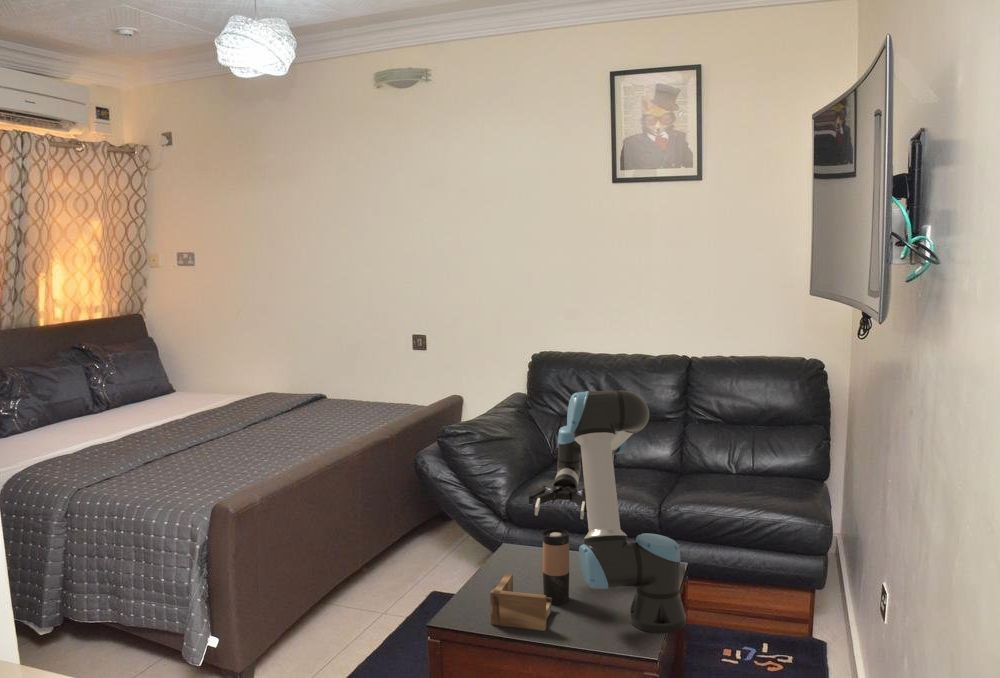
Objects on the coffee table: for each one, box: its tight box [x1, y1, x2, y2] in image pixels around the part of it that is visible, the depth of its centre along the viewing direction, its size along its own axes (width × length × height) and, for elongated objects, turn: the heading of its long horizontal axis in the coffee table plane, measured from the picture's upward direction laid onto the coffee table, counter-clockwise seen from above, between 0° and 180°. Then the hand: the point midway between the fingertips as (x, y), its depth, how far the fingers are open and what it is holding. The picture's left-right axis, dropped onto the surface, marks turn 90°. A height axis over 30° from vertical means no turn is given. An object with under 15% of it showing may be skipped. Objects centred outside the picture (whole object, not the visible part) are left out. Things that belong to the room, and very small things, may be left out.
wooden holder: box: [489, 572, 552, 632], centre depth 230 cm, size 14×15×9 cm
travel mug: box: [542, 528, 570, 606], centre depth 240 cm, size 8×8×20 cm
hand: (558, 513), depth 247 cm, fingers open, 13 cm apart
